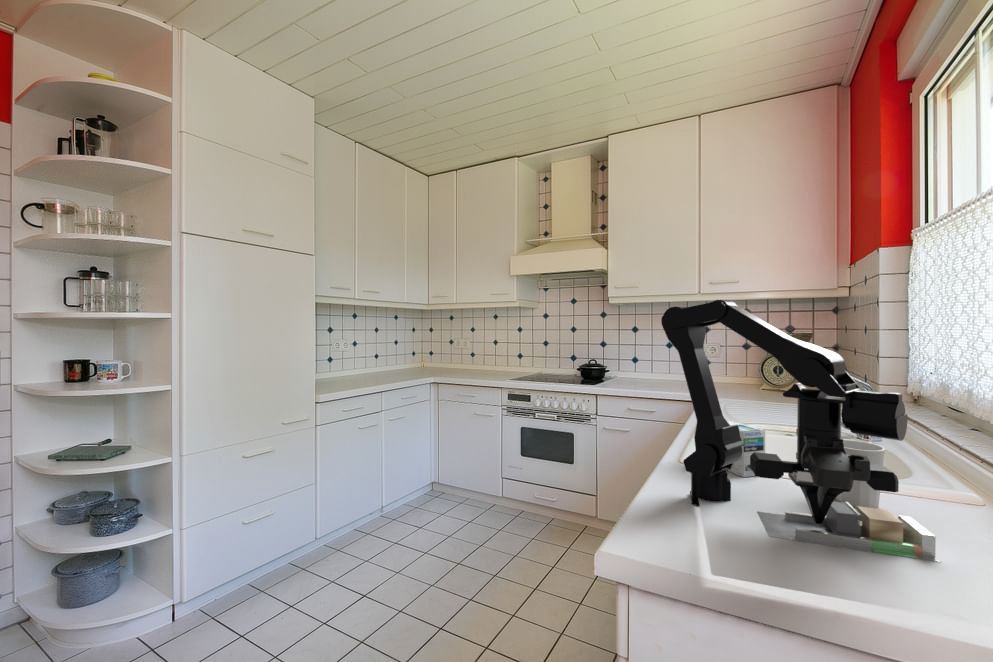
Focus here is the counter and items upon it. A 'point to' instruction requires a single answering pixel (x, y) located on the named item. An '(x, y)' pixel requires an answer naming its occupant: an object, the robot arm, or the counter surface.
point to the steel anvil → (918, 535)
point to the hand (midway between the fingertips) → (817, 523)
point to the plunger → (844, 519)
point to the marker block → (880, 524)
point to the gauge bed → (833, 536)
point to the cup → (861, 490)
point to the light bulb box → (748, 448)
